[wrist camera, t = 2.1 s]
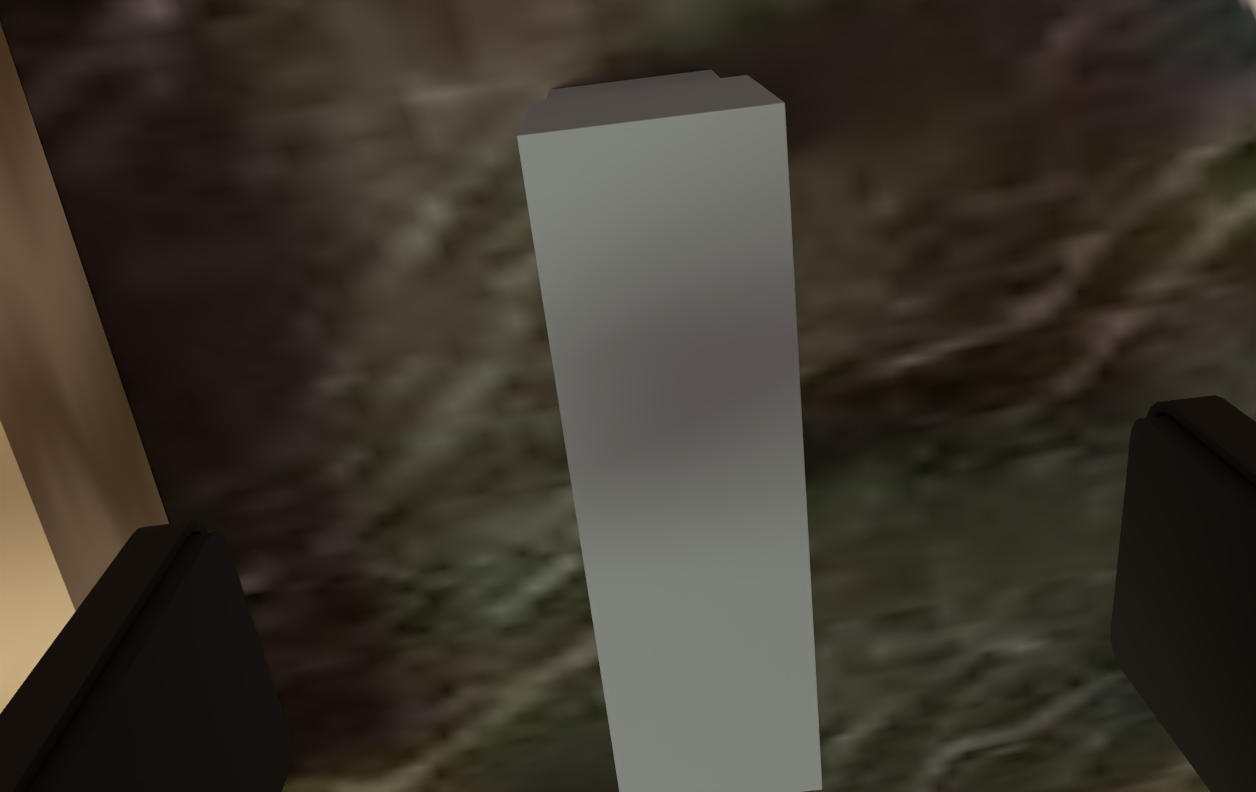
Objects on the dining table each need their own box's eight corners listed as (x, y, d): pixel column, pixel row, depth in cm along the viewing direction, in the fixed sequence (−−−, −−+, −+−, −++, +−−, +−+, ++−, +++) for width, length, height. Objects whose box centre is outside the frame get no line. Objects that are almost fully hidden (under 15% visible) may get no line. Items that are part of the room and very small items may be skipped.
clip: (747, 519, 23) (822, 789, 15) (613, 535, 23) (621, 811, 15) (709, 46, 19) (784, 103, 11) (546, 67, 19) (516, 136, 11)
